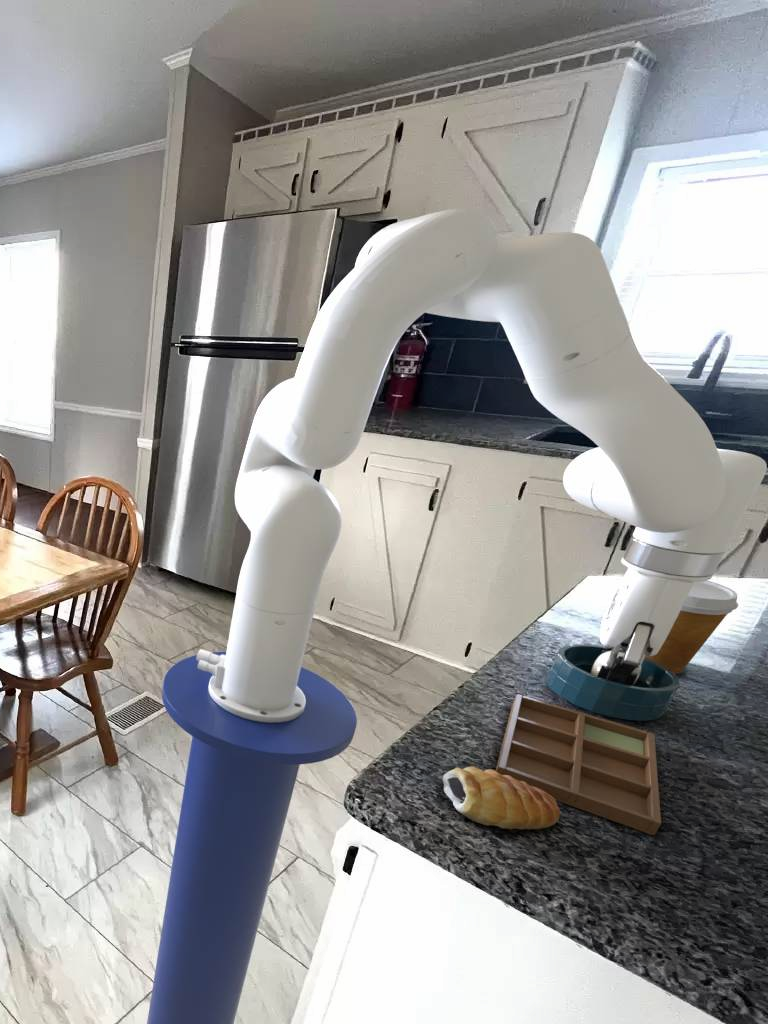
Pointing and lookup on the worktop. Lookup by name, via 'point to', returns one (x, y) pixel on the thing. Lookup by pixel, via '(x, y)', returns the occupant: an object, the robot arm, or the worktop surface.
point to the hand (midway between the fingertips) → (607, 687)
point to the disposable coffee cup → (695, 624)
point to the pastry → (499, 799)
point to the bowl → (611, 685)
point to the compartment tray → (583, 762)
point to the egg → (603, 660)
